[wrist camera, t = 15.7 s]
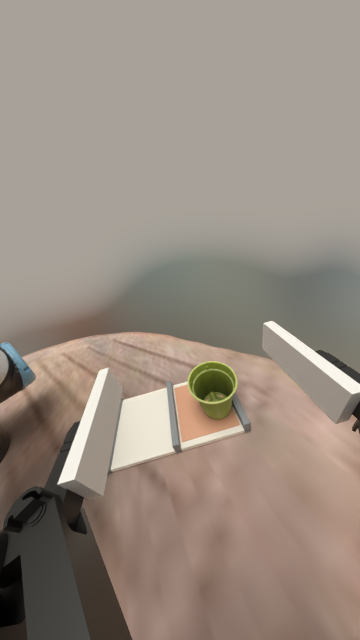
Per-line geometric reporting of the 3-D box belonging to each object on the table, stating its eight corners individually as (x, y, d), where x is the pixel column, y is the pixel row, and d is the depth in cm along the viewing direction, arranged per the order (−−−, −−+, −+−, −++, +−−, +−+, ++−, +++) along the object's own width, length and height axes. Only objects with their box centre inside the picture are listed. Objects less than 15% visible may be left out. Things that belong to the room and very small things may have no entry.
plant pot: (187, 416, 34) (178, 392, 29) (204, 381, 40) (199, 356, 36) (232, 438, 29) (228, 412, 24) (243, 394, 35) (242, 367, 31)
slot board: (106, 473, 29) (99, 468, 28) (120, 403, 42) (115, 397, 40) (250, 431, 30) (250, 422, 29) (222, 374, 42) (221, 366, 41)
